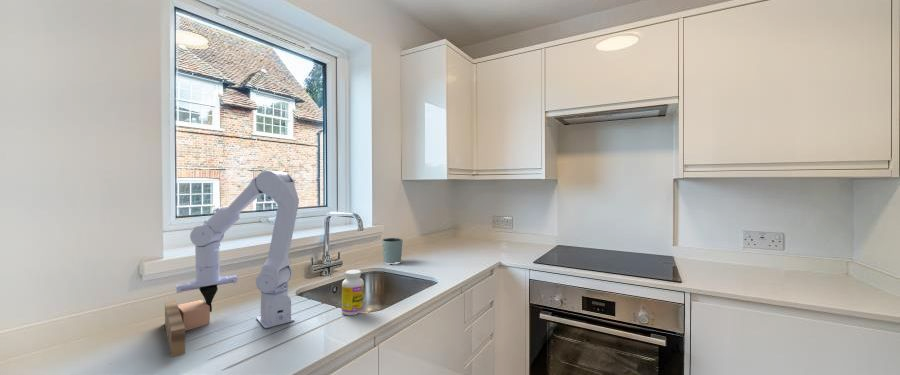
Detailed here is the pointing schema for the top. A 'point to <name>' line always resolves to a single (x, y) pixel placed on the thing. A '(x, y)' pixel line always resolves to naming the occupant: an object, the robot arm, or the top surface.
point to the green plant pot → (392, 249)
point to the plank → (174, 329)
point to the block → (194, 314)
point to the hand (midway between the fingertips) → (208, 311)
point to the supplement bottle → (352, 293)
